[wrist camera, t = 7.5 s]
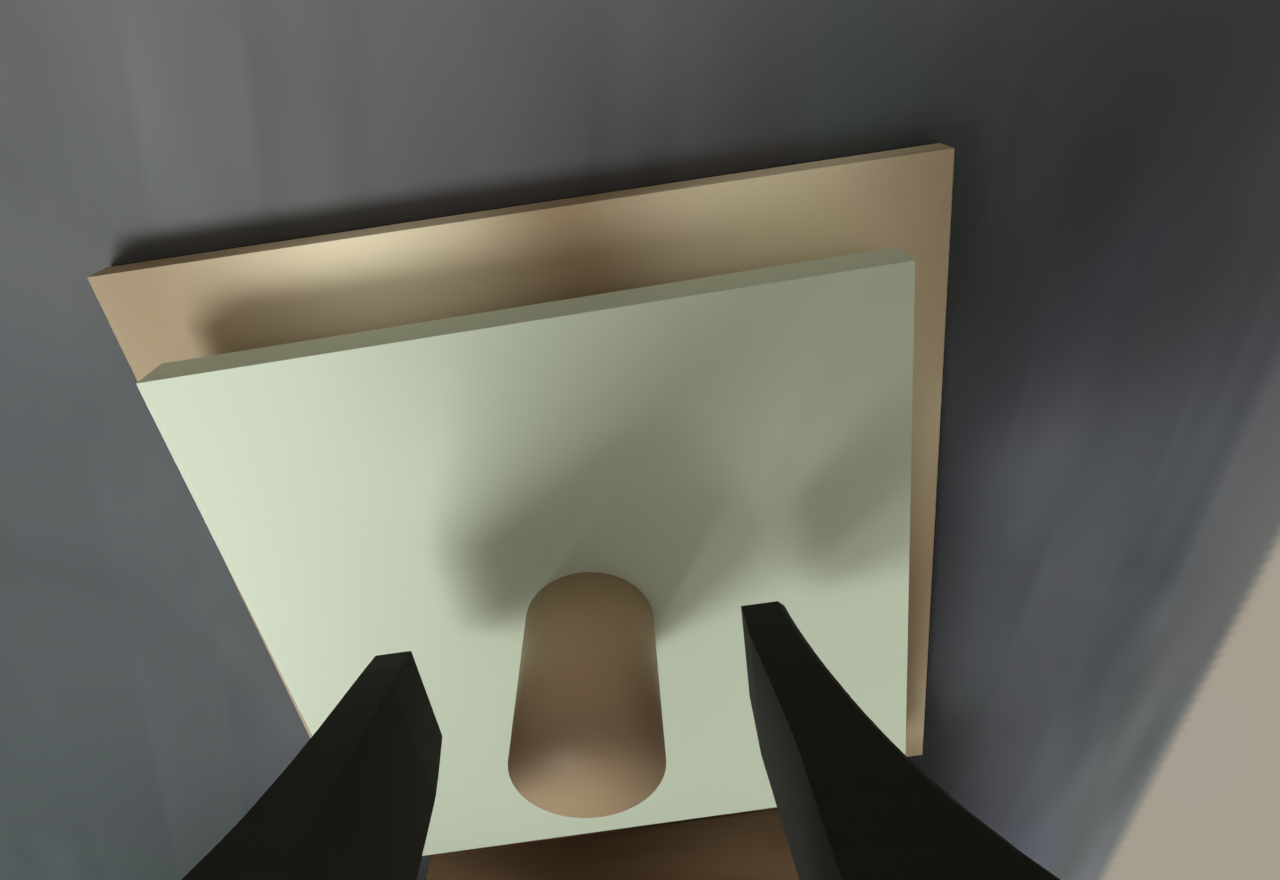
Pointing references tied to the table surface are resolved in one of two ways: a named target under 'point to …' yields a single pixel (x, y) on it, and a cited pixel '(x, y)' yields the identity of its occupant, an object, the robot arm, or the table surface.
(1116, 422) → the table surface
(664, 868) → the box
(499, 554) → the lid
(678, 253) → the board
